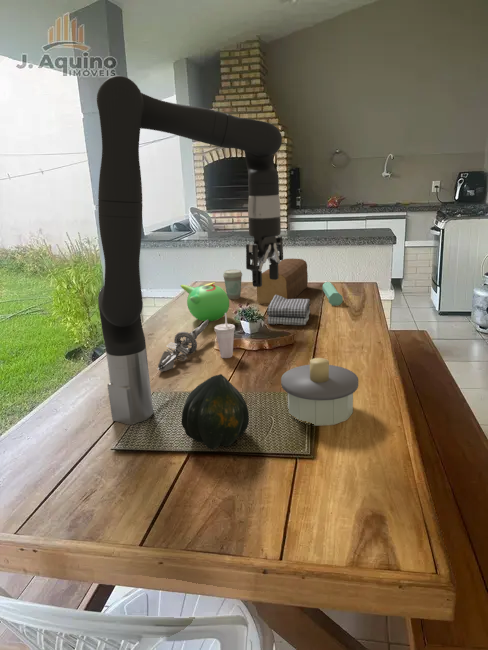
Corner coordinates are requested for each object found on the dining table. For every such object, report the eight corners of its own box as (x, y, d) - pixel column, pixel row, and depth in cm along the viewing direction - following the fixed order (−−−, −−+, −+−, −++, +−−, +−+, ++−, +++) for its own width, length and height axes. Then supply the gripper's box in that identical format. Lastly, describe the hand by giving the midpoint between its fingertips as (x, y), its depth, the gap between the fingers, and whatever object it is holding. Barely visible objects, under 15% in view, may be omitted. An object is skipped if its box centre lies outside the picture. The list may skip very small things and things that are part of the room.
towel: (266, 326, 188) (265, 306, 186) (272, 312, 205) (272, 293, 203) (307, 327, 185) (307, 306, 183) (310, 312, 203) (310, 293, 200)
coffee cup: (221, 299, 227) (220, 273, 223) (227, 295, 235) (226, 269, 231) (240, 300, 225) (238, 273, 221) (245, 295, 232) (244, 269, 229)
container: (323, 278, 232) (331, 290, 208) (335, 282, 232) (345, 295, 208) (318, 290, 233) (326, 303, 209) (330, 294, 234) (339, 308, 210)
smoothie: (234, 360, 157) (231, 316, 153) (214, 359, 159) (210, 316, 154) (238, 352, 163) (236, 310, 159) (219, 352, 165) (216, 310, 160)
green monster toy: (236, 322, 194) (234, 284, 189) (193, 330, 188) (190, 291, 183) (220, 311, 210) (218, 276, 205) (180, 317, 204) (177, 281, 199)
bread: (308, 287, 242) (308, 257, 238) (288, 306, 212) (287, 272, 208) (280, 286, 247) (279, 256, 243) (256, 304, 217) (254, 271, 213)
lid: (343, 406, 110) (343, 382, 108) (268, 391, 118) (267, 369, 117) (368, 375, 124) (368, 353, 123) (299, 364, 133) (299, 344, 131)
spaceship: (221, 316, 175) (200, 306, 177) (174, 363, 146) (149, 352, 147) (215, 334, 179) (195, 325, 181) (168, 385, 150) (145, 373, 151)
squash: (175, 440, 102) (219, 380, 102) (165, 411, 116) (204, 358, 116) (229, 472, 108) (272, 414, 107) (213, 440, 122) (251, 389, 121)
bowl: (338, 430, 114) (339, 402, 112) (278, 417, 121) (277, 390, 119) (360, 402, 126) (360, 376, 124) (303, 392, 133) (303, 367, 131)
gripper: (263, 218, 112) (265, 290, 117) (292, 212, 124) (292, 278, 129) (234, 218, 116) (237, 287, 121) (264, 211, 128) (266, 275, 133)
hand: (266, 282), depth 125 cm, fingers open, 8 cm apart
